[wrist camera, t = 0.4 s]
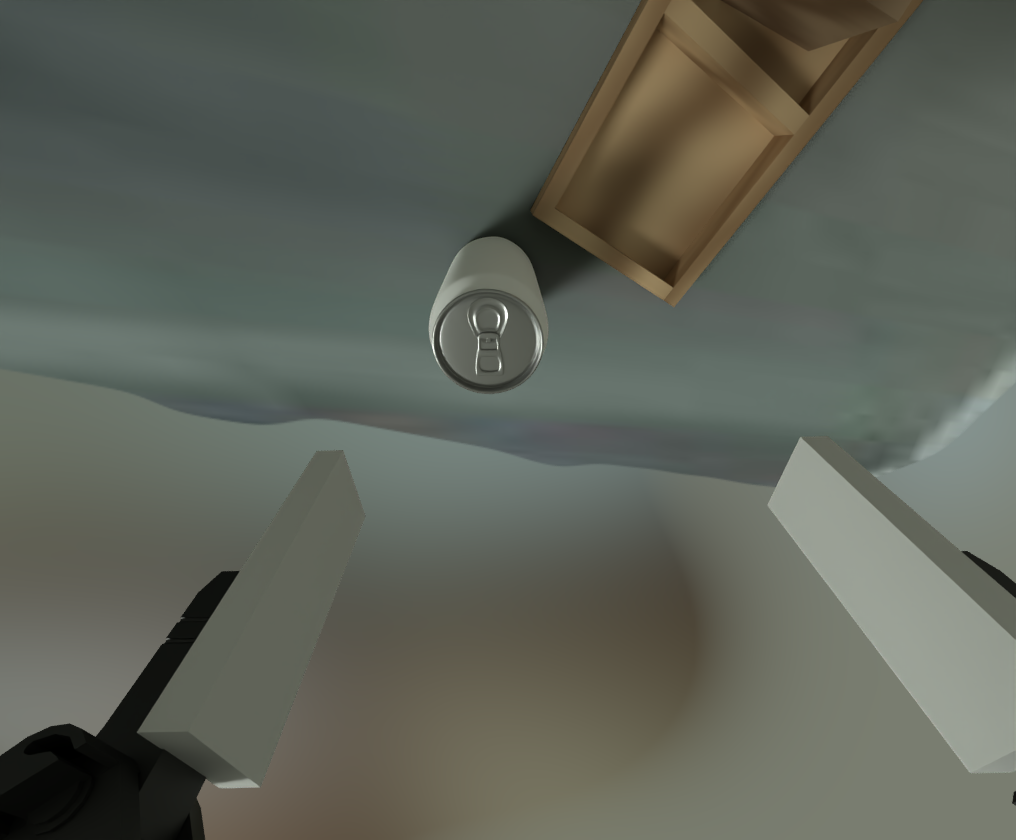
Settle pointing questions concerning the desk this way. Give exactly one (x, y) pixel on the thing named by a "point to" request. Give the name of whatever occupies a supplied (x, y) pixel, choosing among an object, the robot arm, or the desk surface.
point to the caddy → (692, 135)
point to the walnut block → (821, 18)
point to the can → (489, 318)
